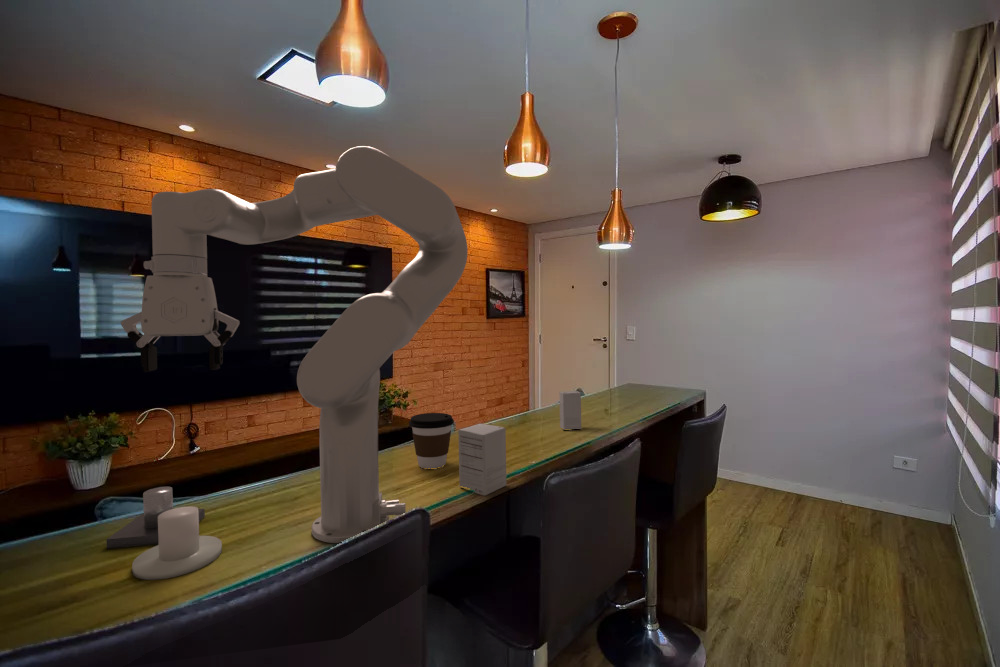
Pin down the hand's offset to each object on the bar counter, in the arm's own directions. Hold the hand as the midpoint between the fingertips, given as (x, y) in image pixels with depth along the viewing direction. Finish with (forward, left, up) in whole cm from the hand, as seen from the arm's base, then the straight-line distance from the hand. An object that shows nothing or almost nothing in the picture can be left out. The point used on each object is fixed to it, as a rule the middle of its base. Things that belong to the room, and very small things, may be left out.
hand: (183, 370), depth 79 cm
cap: (-3, +11, -27) cm, 29 cm away
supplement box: (-52, -9, -28) cm, 60 cm away
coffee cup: (-42, -26, -28) cm, 57 cm away
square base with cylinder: (+5, 0, -28) cm, 28 cm away
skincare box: (-87, -54, -28) cm, 107 cm away
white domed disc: (-3, +11, -28) cm, 30 cm away
